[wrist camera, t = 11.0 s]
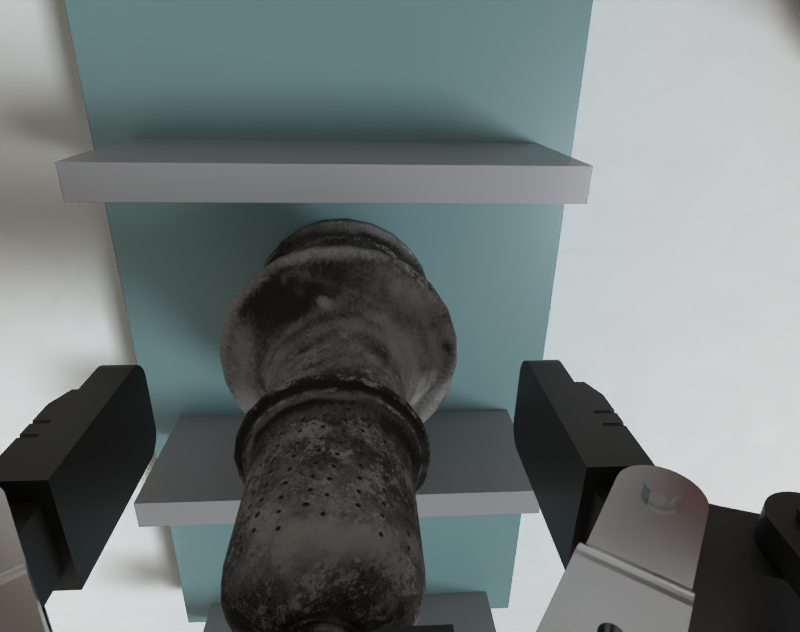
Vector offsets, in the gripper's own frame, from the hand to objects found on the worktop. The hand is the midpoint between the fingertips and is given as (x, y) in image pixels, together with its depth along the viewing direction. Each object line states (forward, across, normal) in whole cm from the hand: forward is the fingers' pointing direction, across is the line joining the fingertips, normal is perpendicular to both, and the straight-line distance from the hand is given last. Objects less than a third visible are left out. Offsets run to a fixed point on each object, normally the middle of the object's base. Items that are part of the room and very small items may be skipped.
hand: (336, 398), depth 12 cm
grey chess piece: (+6, 0, 0) cm, 6 cm away
